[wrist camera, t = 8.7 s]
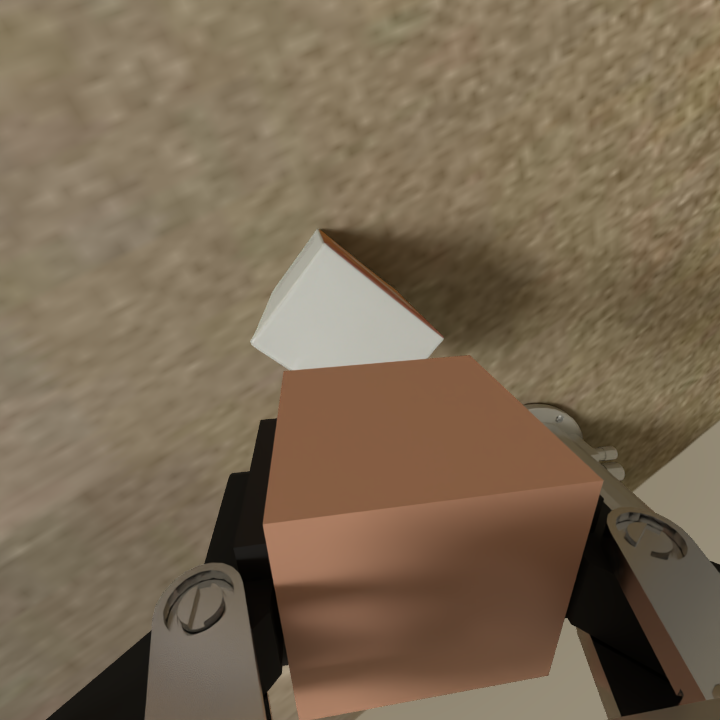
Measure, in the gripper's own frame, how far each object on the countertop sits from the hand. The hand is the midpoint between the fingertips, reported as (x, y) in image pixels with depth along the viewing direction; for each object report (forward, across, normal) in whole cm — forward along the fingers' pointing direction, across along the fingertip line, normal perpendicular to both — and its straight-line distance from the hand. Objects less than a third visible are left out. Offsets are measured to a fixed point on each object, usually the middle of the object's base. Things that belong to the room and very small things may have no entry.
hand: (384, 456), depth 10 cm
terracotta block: (+1, 0, 0) cm, 1 cm away
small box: (+23, 0, 0) cm, 23 cm away
